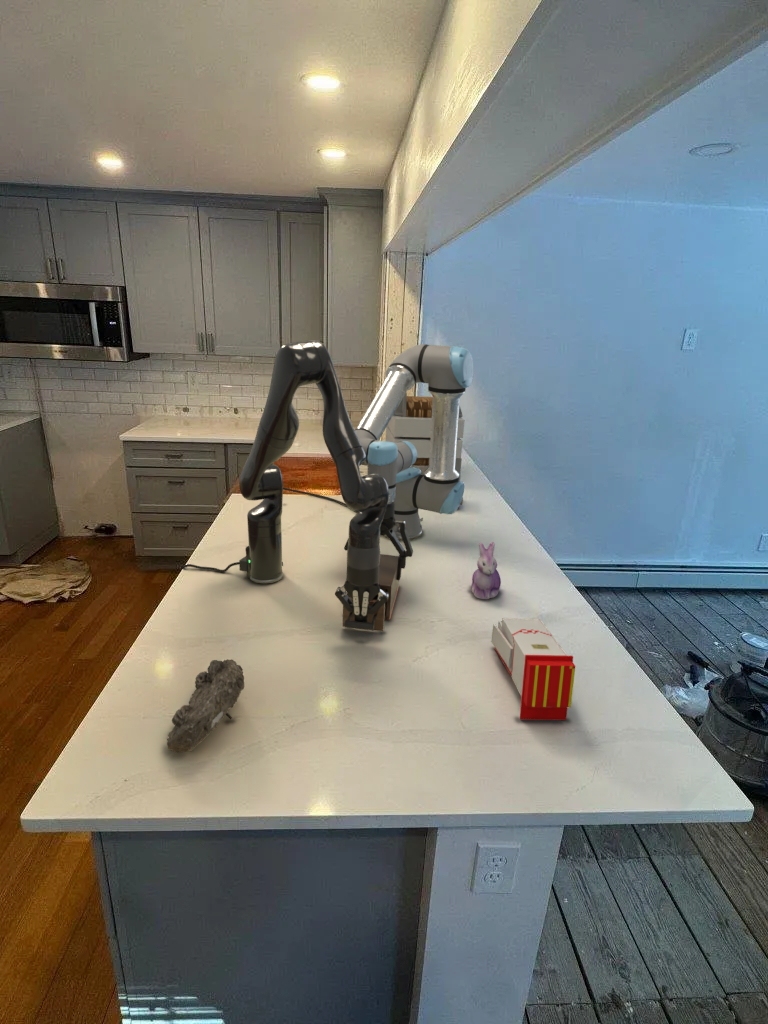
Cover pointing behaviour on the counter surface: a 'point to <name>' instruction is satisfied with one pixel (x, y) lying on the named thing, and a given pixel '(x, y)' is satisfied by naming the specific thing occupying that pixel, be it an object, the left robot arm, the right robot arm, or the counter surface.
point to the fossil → (206, 705)
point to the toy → (535, 667)
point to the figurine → (486, 574)
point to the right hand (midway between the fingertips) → (377, 575)
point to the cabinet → (389, 580)
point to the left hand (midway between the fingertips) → (360, 626)
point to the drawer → (373, 620)
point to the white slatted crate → (419, 428)
